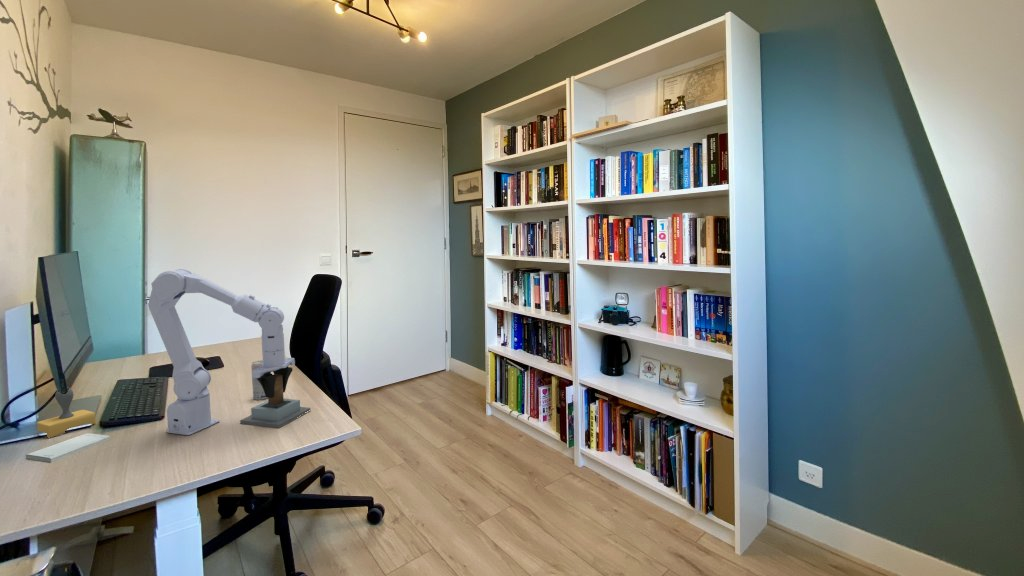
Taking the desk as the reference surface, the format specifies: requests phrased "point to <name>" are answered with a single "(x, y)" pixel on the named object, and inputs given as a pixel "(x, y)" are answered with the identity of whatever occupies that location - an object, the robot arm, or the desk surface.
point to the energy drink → (257, 383)
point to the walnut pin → (277, 391)
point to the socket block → (275, 414)
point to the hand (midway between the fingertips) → (275, 394)
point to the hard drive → (67, 447)
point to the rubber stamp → (65, 417)
